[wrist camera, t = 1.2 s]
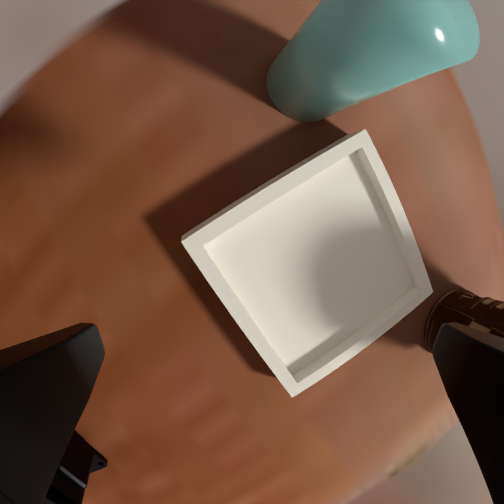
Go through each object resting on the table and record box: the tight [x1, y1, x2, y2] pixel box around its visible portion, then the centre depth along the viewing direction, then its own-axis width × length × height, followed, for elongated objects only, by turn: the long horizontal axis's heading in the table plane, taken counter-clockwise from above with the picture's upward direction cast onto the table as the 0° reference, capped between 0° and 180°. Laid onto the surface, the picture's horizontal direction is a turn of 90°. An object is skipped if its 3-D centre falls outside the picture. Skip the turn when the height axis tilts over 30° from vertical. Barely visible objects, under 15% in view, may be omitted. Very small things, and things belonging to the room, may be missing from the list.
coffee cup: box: [425, 289, 504, 354], centre depth 18 cm, size 9×8×13 cm
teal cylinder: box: [266, 0, 479, 122], centre depth 12 cm, size 5×5×12 cm
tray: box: [181, 129, 433, 397], centre depth 19 cm, size 12×12×2 cm
